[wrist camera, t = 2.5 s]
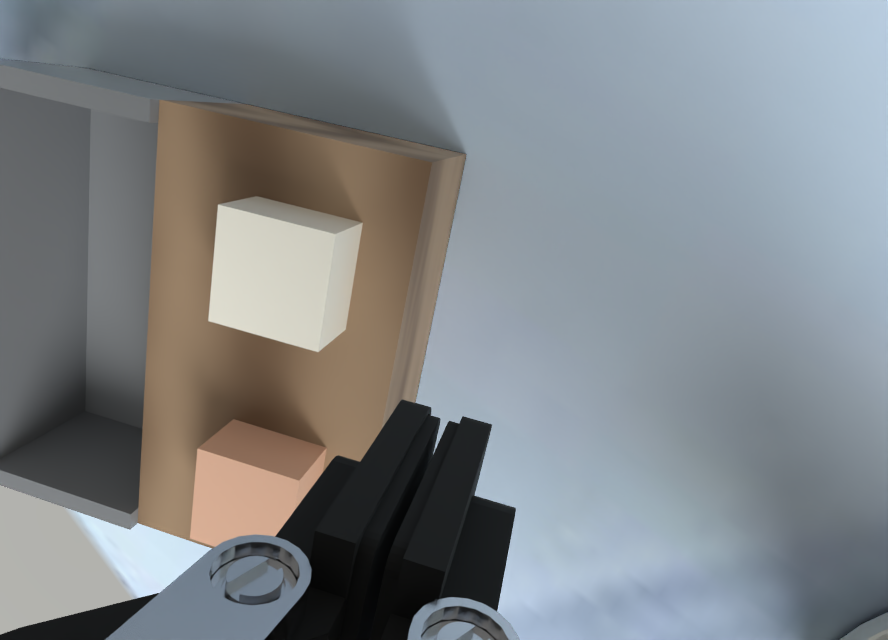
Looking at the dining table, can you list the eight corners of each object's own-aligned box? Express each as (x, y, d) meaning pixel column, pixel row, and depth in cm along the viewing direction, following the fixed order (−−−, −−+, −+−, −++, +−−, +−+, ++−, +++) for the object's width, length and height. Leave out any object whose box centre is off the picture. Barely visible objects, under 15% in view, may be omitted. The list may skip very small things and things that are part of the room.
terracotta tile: (326, 447, 25) (299, 480, 23) (313, 531, 27) (286, 571, 24) (233, 419, 26) (197, 448, 24) (224, 502, 27) (189, 538, 25)
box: (245, 104, 28) (150, 99, 22) (212, 457, 34) (130, 529, 28) (85, 67, 29) (-47, 53, 23) (80, 415, 35) (-27, 475, 29)
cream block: (362, 222, 22) (335, 234, 20) (345, 329, 24) (318, 352, 21) (256, 196, 23) (218, 204, 21) (245, 302, 24) (208, 320, 22)
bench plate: (466, 154, 27) (432, 162, 21) (392, 514, 33) (349, 595, 27) (245, 104, 28) (159, 99, 23) (212, 457, 34) (137, 523, 29)
